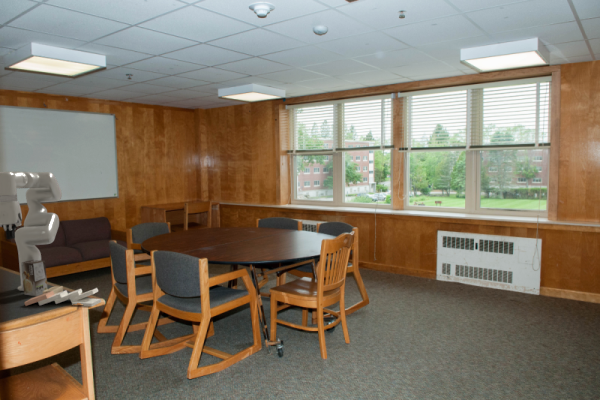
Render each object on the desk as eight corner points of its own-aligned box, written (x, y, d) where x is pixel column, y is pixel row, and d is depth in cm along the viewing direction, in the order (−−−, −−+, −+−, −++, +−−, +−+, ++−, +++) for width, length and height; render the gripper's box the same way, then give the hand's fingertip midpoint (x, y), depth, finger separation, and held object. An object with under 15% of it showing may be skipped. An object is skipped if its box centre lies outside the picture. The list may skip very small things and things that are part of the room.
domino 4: (70, 298, 184) (92, 290, 186) (75, 295, 190) (97, 287, 192) (71, 302, 184) (93, 294, 186) (77, 299, 190) (98, 291, 192)
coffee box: (48, 292, 203) (46, 260, 202) (36, 296, 197) (33, 263, 196) (35, 290, 206) (33, 259, 205) (23, 294, 201) (20, 262, 199)
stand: (43, 299, 192) (42, 291, 191) (54, 294, 200) (54, 286, 199) (52, 299, 191) (51, 291, 191) (63, 294, 199) (62, 286, 199)
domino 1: (24, 302, 183) (45, 294, 184) (32, 297, 189) (53, 290, 190) (25, 306, 184) (47, 298, 184) (33, 301, 190) (54, 294, 190)
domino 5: (72, 302, 182) (91, 303, 180) (81, 298, 188) (101, 298, 186) (72, 306, 183) (92, 307, 181) (82, 301, 188) (101, 302, 186)
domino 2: (38, 301, 184) (59, 294, 184) (45, 297, 190) (66, 290, 190) (39, 305, 184) (61, 297, 184) (46, 301, 190) (67, 293, 190)
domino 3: (54, 300, 184) (77, 291, 186) (58, 297, 190) (81, 288, 192) (56, 304, 184) (79, 295, 186) (60, 300, 190) (82, 291, 192)
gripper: (-15, 200, 185) (-11, 240, 187) (16, 199, 184) (20, 240, 186) (-2, 198, 193) (2, 237, 194) (28, 198, 192) (32, 237, 193)
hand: (10, 238), depth 190 cm, fingers closed
